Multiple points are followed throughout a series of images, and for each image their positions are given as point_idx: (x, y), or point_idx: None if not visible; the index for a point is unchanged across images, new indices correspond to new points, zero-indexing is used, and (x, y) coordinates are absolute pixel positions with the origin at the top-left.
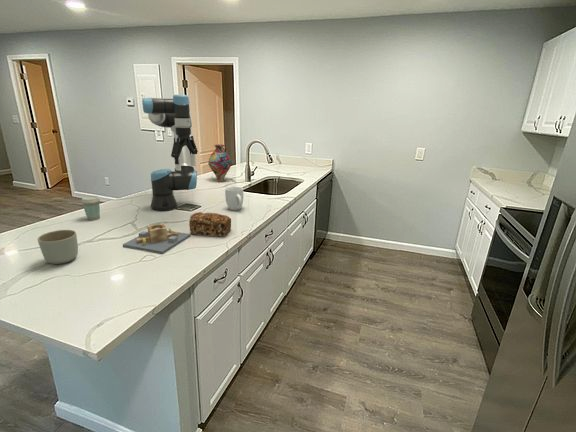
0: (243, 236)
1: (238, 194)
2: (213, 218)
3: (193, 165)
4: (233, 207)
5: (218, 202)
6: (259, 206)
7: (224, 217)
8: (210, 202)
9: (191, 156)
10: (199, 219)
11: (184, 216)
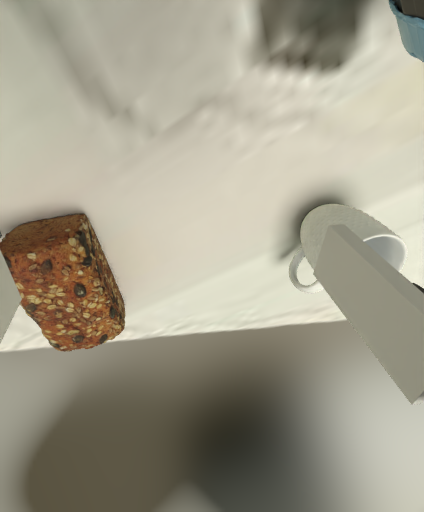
0: None
1: None
2: (45, 331)
3: (323, 262)
4: (300, 238)
5: (403, 119)
6: None
7: (81, 346)
8: (405, 79)
9: (409, 333)
10: None
11: (174, 73)
